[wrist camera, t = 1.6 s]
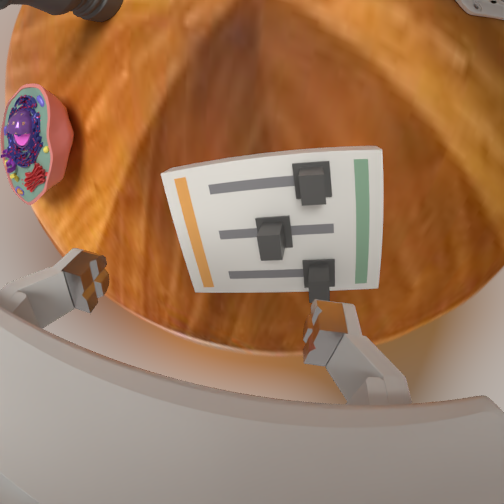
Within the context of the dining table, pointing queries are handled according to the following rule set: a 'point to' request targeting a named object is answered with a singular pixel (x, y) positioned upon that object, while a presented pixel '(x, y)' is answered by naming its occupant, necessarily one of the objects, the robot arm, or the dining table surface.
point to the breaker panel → (278, 204)
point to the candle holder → (73, 7)
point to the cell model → (35, 141)
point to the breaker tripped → (273, 237)
